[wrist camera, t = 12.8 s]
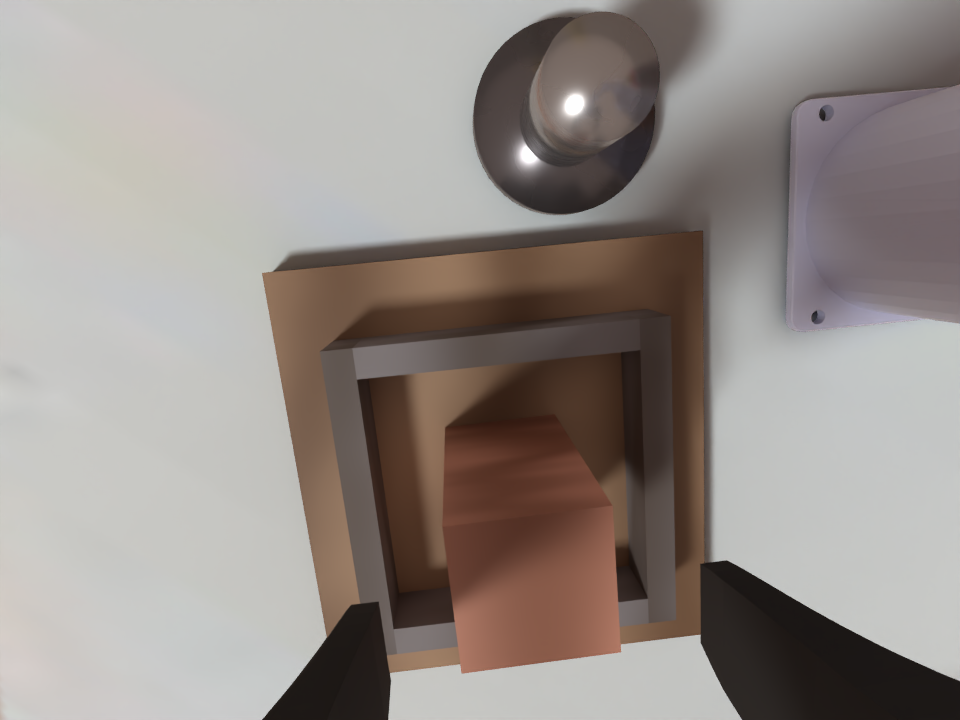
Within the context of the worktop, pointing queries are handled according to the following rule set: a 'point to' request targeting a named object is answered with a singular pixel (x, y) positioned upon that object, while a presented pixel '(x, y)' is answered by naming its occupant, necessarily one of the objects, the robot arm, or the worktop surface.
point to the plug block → (527, 546)
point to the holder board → (495, 414)
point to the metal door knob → (567, 111)
